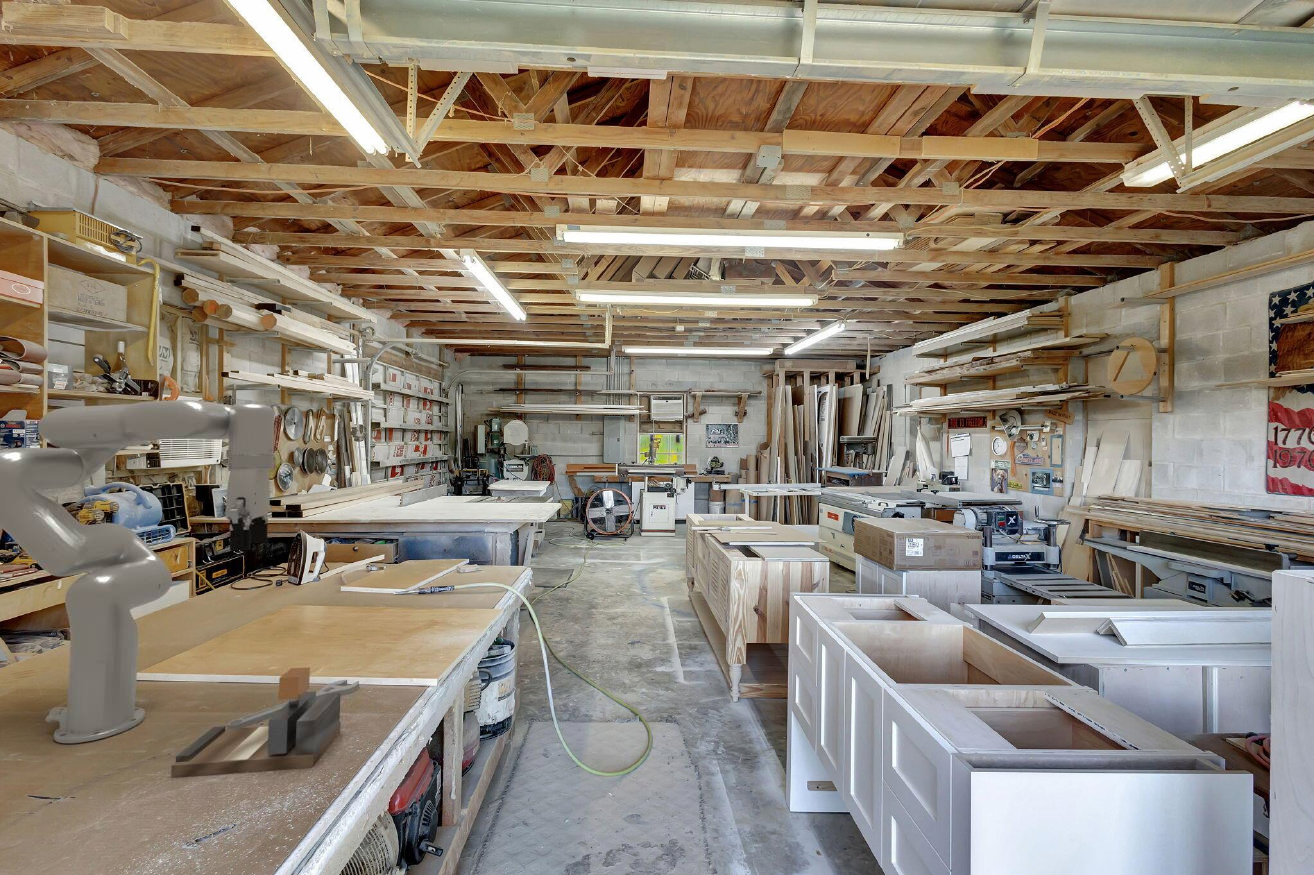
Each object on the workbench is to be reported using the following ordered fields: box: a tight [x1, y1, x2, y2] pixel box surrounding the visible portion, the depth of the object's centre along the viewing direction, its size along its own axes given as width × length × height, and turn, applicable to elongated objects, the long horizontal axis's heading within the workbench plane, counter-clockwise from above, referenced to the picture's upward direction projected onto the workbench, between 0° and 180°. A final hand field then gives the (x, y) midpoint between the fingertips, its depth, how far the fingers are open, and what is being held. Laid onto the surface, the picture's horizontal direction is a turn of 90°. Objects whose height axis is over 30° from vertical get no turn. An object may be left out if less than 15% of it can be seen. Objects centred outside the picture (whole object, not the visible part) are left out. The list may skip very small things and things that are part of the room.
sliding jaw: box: [267, 667, 317, 755], centre depth 100 cm, size 3×11×12 cm, turn 10°
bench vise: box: [170, 693, 342, 778], centre depth 99 cm, size 22×12×8 cm, turn 100°
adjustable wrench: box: [226, 679, 360, 729], centre depth 118 cm, size 25×6×2 cm, turn 142°
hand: (249, 546), depth 111 cm, fingers open, 9 cm apart
